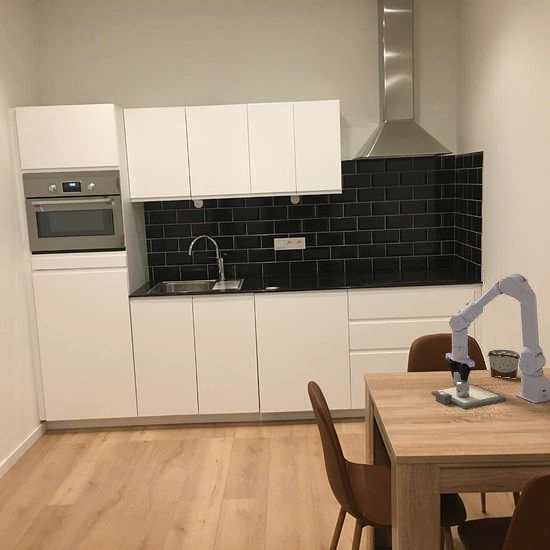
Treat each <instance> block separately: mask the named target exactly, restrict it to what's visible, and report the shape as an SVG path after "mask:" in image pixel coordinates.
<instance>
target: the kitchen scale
mask: <svg viewBox="0 0 550 550" xmlns="http://www.w3.org/2000/svg"><path fill="white" fill-rule="evenodd" d="M431 395H433V396H435V402H437V403H440V404H442V405H444V406H446V405H450V404H453V405H455V406H457V407H459V408H461V409H463V410H466V409H471V408H475V407H481V406H486V405H490V404H495V402H496V403H500V402H505V401H507V399H506V397H505V396H502V395H500V394H498V393H495V392H493V391H491V390H490V391H489V390H487V389H485V388H482V387H479V386H478V385H475V384H472V383H469V397H468V398H459V397H457V396H456V386H453V387H449V388H443V389H438V390H432V391H431Z"/></svg>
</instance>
